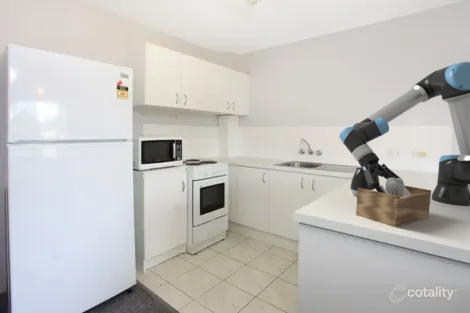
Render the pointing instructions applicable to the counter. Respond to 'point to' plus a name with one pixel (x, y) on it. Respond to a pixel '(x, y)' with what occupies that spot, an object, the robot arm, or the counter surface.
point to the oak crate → (393, 206)
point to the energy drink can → (395, 186)
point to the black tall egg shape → (359, 181)
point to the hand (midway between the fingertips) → (399, 199)
